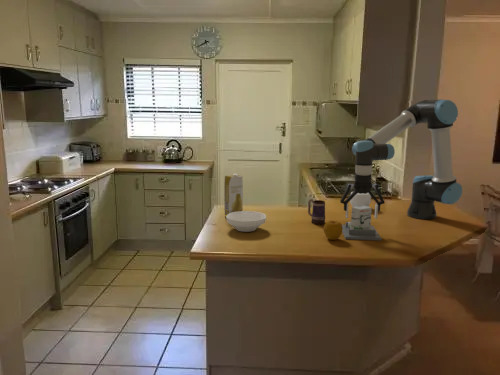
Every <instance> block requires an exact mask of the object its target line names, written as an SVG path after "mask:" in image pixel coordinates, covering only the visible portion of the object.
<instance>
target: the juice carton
mask: <svg viewBox="0 0 500 375" xmlns="http://www.w3.org/2000/svg"><path fill="white" fill-rule="evenodd" d="M223 179H224V182H223V184H224V186H223V187H224V188H223V190H224V192H223V193H224V194H223V195H224V198H223V200H224V201H223V202H224V203H223V204H224V209H223V210H224V216H225V215H227V214H229V213H232V212H238V211H244V210H243V207H244V206H243V205H244V204H243V200H244V199H243V198H244V197H243V196H244V195H243V194H244V193H243V191H244V190H243V188H244V185H243V184H244V183H243V182H244V181H243V175H241V174H238V173H233V174H232V175H224V178H223Z"/></svg>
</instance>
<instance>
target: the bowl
mask: <svg viewBox="0 0 500 375" xmlns="http://www.w3.org/2000/svg"><path fill="white" fill-rule="evenodd" d="M225 217H226V221H227V223H228V224H229V225H231V226H232V227H234V228H235V229H236V230H237V231H238V232H250V233H251V232H255V230H257V229H258V228H259V227H260V226H262V225H263V224H265V223H266V220H267V215H266V214H265V213H263V212H260V211H255V210H254V211H253V210H243V211H238V212H232V213H229V214H227V216H225Z"/></svg>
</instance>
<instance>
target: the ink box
mask: <svg viewBox="0 0 500 375" xmlns="http://www.w3.org/2000/svg"><path fill="white" fill-rule="evenodd" d="M371 220H372V207H370V206H355V207H353V206H352V207H351V218H350V222H351V226H353V227H354V229H363V230H369V227H370V225H371V226H372V221H371Z"/></svg>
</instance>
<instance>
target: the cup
mask: <svg viewBox="0 0 500 375" xmlns="http://www.w3.org/2000/svg"><path fill="white" fill-rule="evenodd" d="M352 193H353V191H351V192H350V195H351V194H352ZM350 195H349V196H350ZM371 202H372V197H371V195H370V194H369V193H366V194H364V193H362V194H359V193H357V194H356V195H355V196H354V197H353V198H352V199H351V200H350V201H349V203H350V205H351V206H352V207H355V206H368V207H370V204H371Z"/></svg>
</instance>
